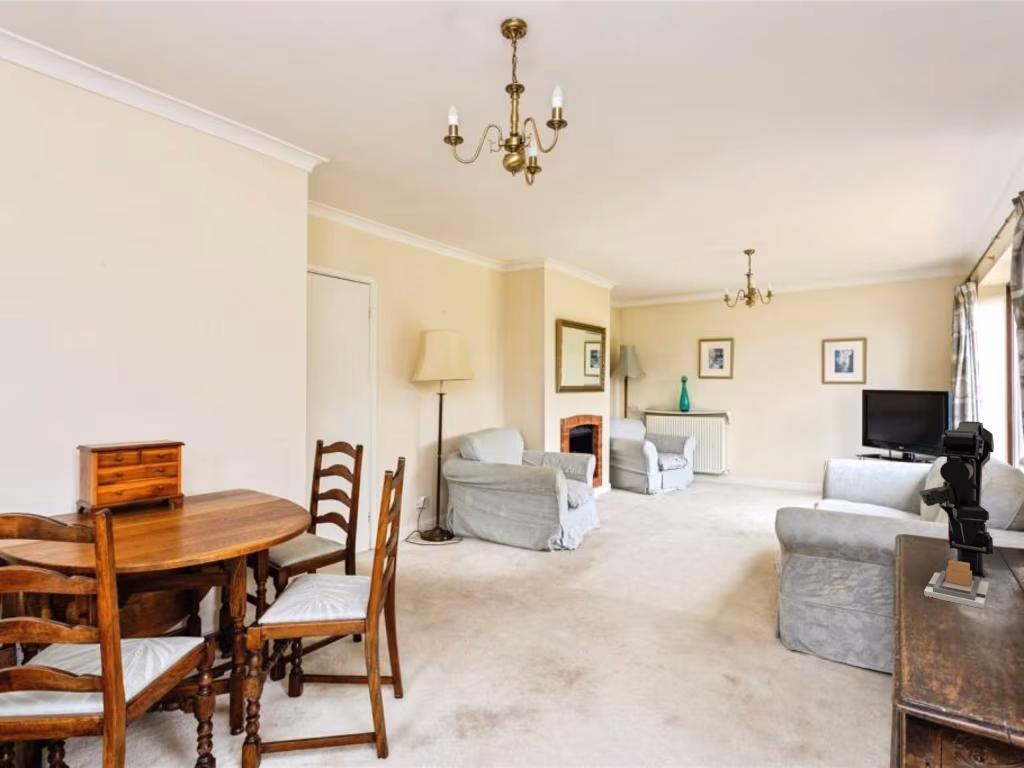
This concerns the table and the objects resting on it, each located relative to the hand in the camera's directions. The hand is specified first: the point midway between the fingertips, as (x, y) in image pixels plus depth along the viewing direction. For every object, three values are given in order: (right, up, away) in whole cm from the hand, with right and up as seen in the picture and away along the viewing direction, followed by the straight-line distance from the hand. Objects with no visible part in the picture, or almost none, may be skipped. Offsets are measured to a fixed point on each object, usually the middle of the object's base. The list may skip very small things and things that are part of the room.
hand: (961, 539), depth 140 cm
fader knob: (-1, -11, -1) cm, 11 cm away
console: (-4, -12, -4) cm, 13 cm away
